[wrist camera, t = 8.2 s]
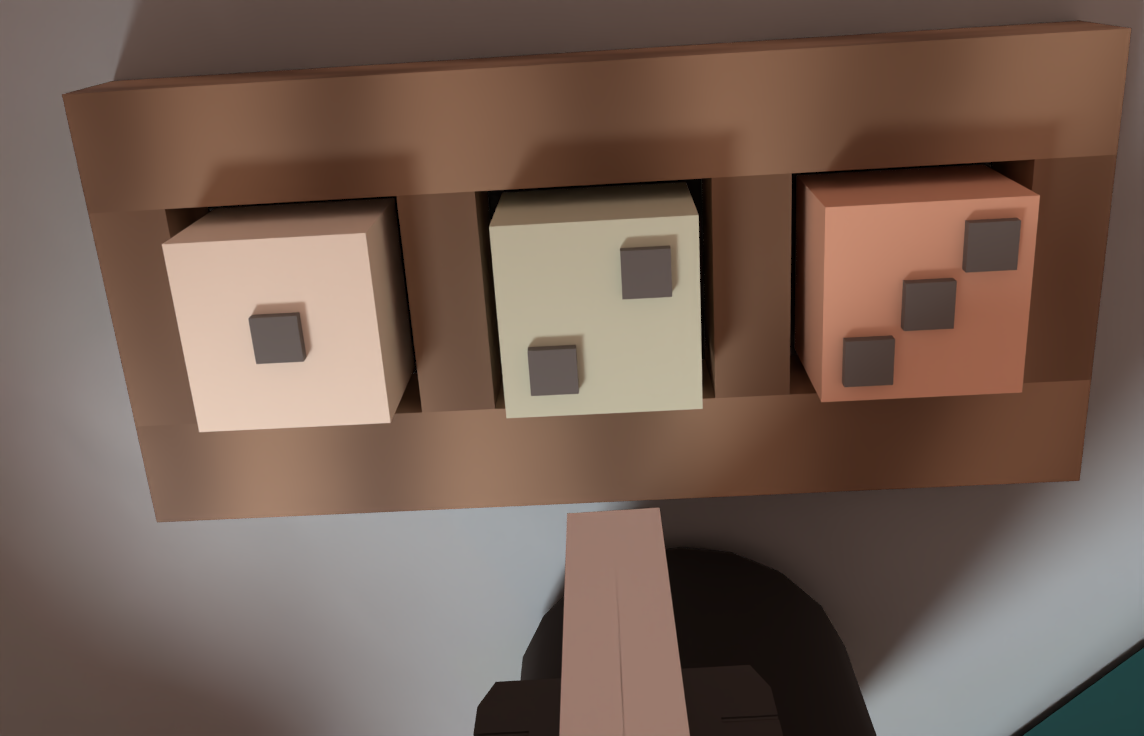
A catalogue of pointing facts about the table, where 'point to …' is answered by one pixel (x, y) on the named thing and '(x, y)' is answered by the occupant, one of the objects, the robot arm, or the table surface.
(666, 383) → the die
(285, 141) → the wooden dice tray
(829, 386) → the die
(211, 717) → the table surface
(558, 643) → the coffee jar
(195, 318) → the die
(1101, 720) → the teal l-shaped bracket
